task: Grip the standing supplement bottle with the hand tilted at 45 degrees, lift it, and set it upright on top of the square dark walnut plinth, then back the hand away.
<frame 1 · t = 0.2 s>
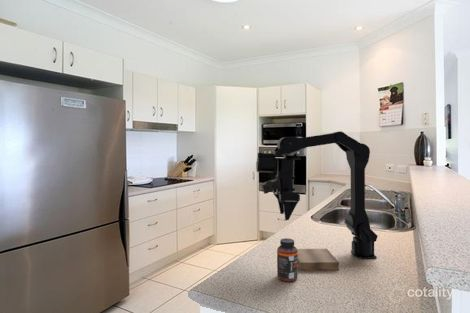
hand: (284, 216, 100), 14 cm above the worktop, tool pointing down, fingers open, 9 cm apart
walnut plinth: (314, 262, 95), on the worktop
supplement bottle: (287, 278, 84), on the worktop
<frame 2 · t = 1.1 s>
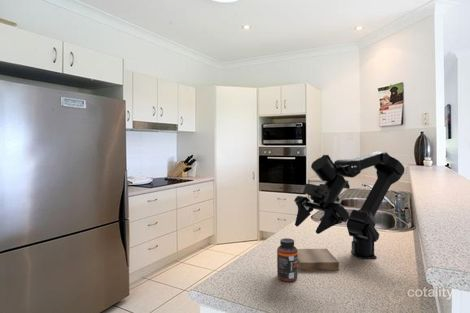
hand: (305, 229, 87), 13 cm above the worktop, tool tilted 45°, fingers open, 9 cm apart
nothing on the worktop moved.
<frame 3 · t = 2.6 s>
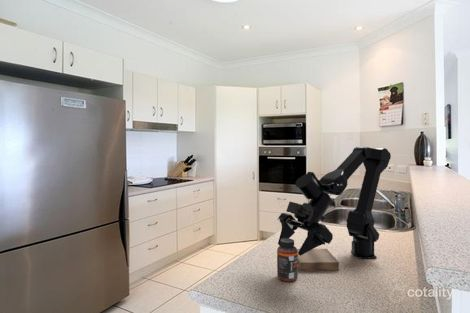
hand: (288, 249, 84), 8 cm above the worktop, tool tilted 45°, fingers open, 9 cm apart
nothing on the worktop moved.
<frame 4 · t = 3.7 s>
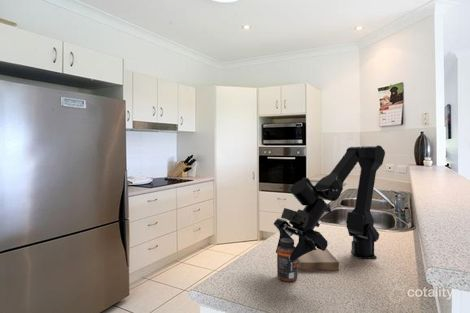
hand: (283, 256, 83), 7 cm above the worktop, tool tilted 45°, fingers closed on supplement bottle, 6 cm apart
supplement bottle: (287, 278, 84), on the worktop, touching gripper
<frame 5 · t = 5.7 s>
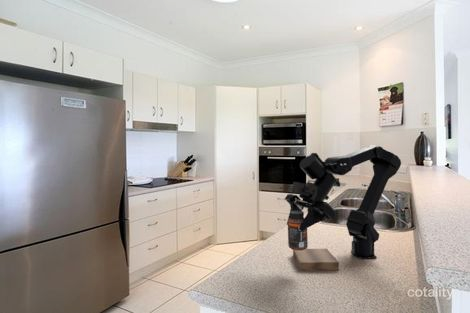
hand: (293, 227, 88), 14 cm above the worktop, tool tilted 45°, fingers closed on supplement bottle, 6 cm apart
supplement bottle: (298, 248, 88), point 7 cm above the worktop, touching gripper
when the fingers open (10 cm above the worktop, at t = 8.0 s): supplement bottle drops 1 cm, resting on walnut plinth.
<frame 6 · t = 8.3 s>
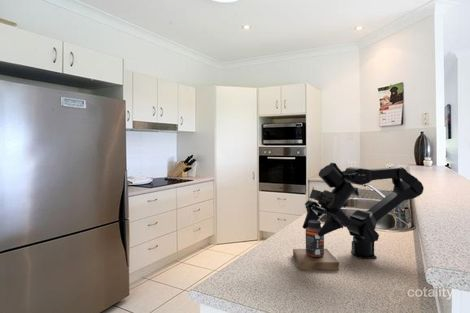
hand: (310, 231, 94), 11 cm above the worktop, tool tilted 45°, fingers open, 9 cm apart
supplement bottle: (315, 255, 95), point 2 cm above the worktop, touching walnut plinth
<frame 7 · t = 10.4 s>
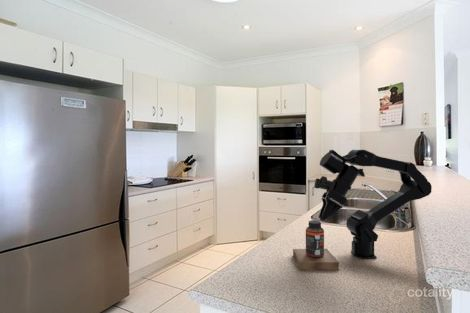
hand: (320, 218, 99), 14 cm above the worktop, tool tilted 35°, fingers open, 9 cm apart
nothing on the worktop moved.
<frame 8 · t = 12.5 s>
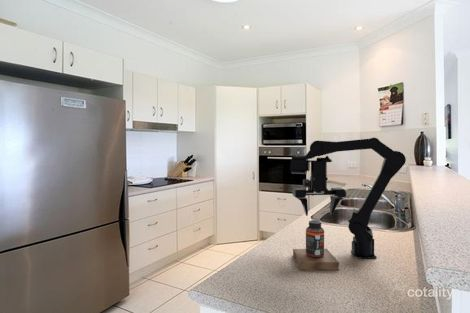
hand: (318, 215, 106), 13 cm above the worktop, tool pointing down, fingers open, 9 cm apart
nothing on the worktop moved.
at the end: supplement bottle inside the target area on the walnut plinth (0.2 cm from its centre), point 2.3 cm above the walnut plinth's base; supplement bottle tilted 0°; the gripper is holding nothing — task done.
